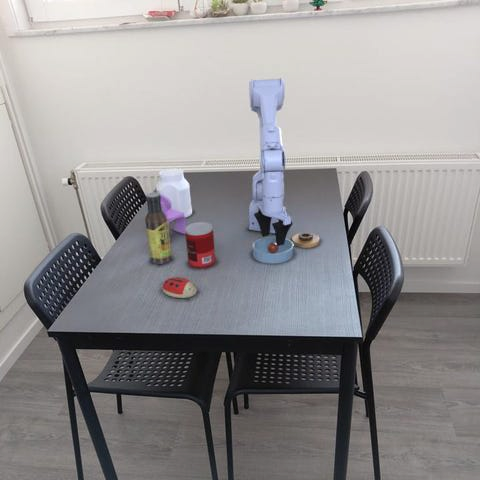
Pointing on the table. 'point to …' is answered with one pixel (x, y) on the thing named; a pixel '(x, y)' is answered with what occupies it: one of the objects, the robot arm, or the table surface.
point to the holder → (305, 240)
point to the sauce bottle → (157, 230)
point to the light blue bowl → (266, 257)
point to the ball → (272, 247)
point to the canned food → (200, 245)
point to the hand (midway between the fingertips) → (272, 240)
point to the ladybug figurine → (179, 288)
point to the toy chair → (173, 214)
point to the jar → (175, 190)
